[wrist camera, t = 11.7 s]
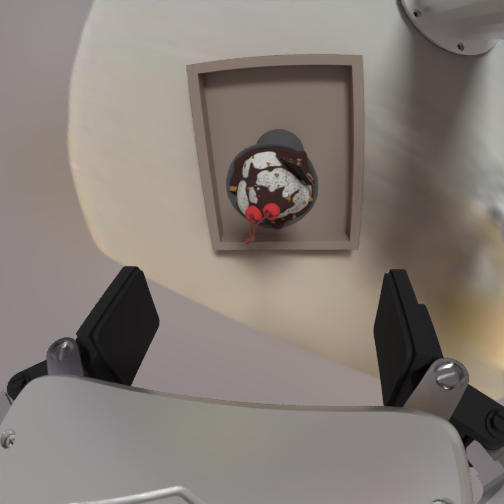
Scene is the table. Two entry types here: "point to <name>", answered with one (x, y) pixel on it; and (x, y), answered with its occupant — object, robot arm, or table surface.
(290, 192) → the sundae
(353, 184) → the tray
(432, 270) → the table surface
